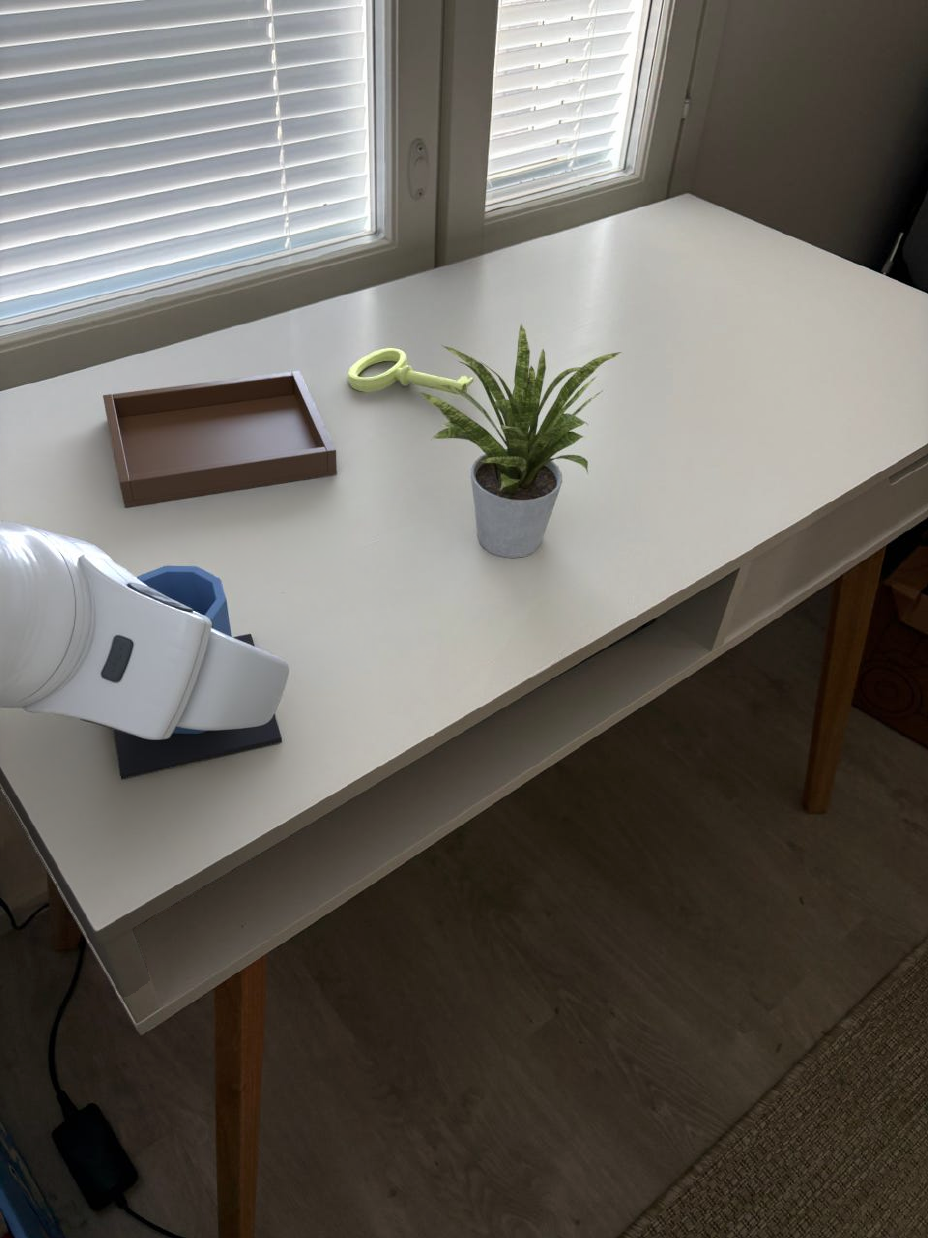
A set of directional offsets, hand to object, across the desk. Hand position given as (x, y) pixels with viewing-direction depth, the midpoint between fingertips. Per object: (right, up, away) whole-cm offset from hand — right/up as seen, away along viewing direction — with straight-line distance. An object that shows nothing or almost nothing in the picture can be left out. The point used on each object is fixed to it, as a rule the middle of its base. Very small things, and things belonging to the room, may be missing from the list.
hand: (185, 639), depth 64 cm
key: (+12, +24, +35) cm, 44 cm away
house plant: (+22, +8, +19) cm, 30 cm away
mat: (-1, -4, +3) cm, 5 cm away
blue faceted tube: (0, -4, +3) cm, 5 cm away
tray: (-4, +16, +25) cm, 30 cm away
